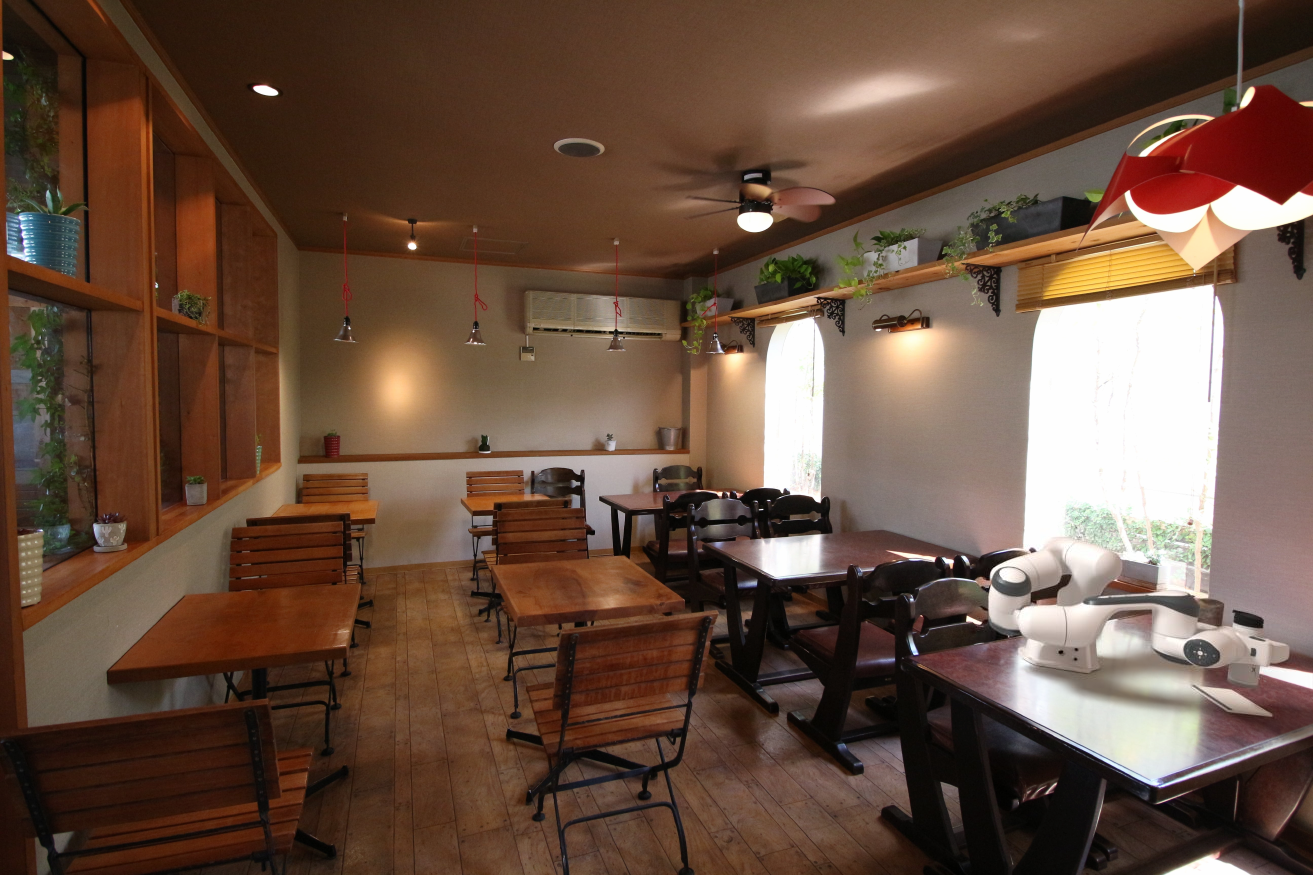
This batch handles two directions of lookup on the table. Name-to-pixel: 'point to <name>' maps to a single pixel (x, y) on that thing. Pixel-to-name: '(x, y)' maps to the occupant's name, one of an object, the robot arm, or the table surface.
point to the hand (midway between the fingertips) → (1248, 636)
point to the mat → (1231, 701)
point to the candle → (1210, 612)
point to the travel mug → (1244, 672)
